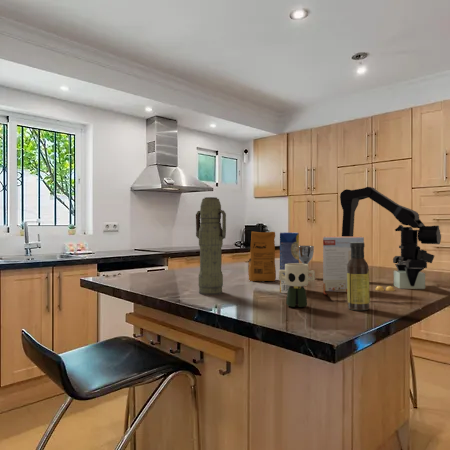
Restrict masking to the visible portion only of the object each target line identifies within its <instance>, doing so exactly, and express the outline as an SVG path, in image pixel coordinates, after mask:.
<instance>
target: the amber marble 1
mask: <svg viewBox="0 0 450 450" xmlns="http://www.w3.org/2000/svg"><path fill="white" fill-rule="evenodd" d="M374 290H375V291H379V292H384V291H385V289H384V286H382V285H377V286H376V287H375V289H374Z"/></svg>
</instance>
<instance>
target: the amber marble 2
mask: <svg viewBox="0 0 450 450" xmlns="http://www.w3.org/2000/svg"><path fill="white" fill-rule="evenodd" d="M385 291H387V292H395V291H396V290H395V288H394V286H391V285H388V286H386V287H385Z"/></svg>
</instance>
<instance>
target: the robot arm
mask: <svg viewBox="0 0 450 450" xmlns="http://www.w3.org/2000/svg"><path fill="white" fill-rule="evenodd" d="M339 195H340V196H339V199H340V205H341V208H342V209H341V210H342V226H341V236H344V237H354V230H355V228H354V227H355V213H356V210H357V207H358V206H359V203H360V201H362V200H365V199H370V200H371V201H373V202H374V203H376V204H378V205H379V206H380V207H382V208H384V209H385V210H386V211H388V212H390V213H391V214H392V215H393V216H394V218H395V219H396V220H397V221H398V222H399V223H400V224H399V225H398V227H396V228H395V229H394V231H395V232H400V245H398V248H399V249H400V255H395V256H394V257H393V259H392V263H393V264H394V265H395V267H396V269H397V271H406V273H407V276H408V280H409V282H410V285H411V286H414V285H415V282H416V279H417V276H418V273H419V272H422V271H423V270H425V269H427V268H428V263H429V264H433V260H434V258H435V255H434V254H431V253H428V252H427V250H426V249H425V250H424V249H421V247H420V246H419V245H418V242H420V243H421V244H422V245H440V244H441V241H442V234H441V229H440V226H439V225H425V224H424V223H423V221H421V219H420V214H419V213H418V212H417V211H415V210H413V209H411V208H409V207H406V206H403V205H402V204H401V205H400V204H398V203H397V202H395V201H394V200H393V199H390V198H389V197H388V196H387V195H384V194H383V193H381V192H379V191H378V190H377V189H376V188H375V187H373V186H372V187H371V186H366V187H362V188H358V189H357V188H356V189H344V190H342V191H341V192H340V194H339Z"/></svg>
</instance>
